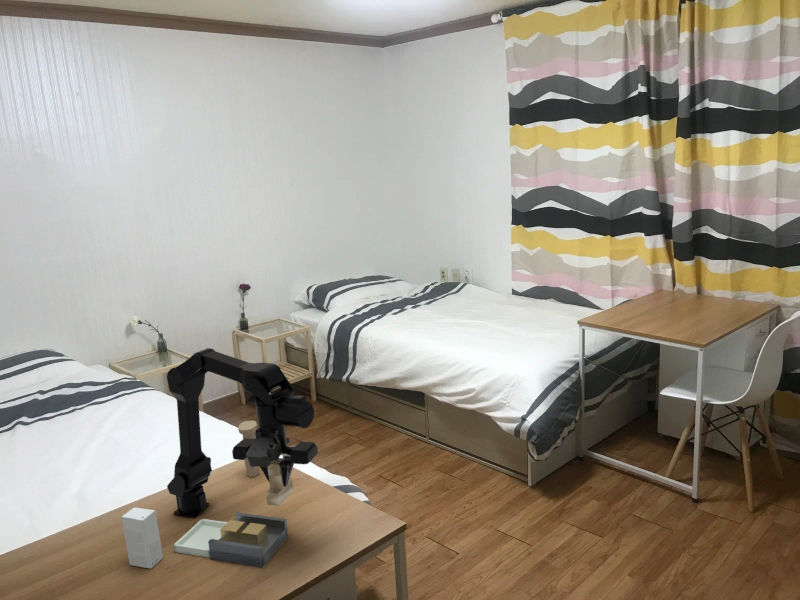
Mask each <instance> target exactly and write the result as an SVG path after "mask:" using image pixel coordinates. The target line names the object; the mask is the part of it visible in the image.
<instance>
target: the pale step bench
mask: <svg viewBox="0 0 800 600" xmlns="http://www.w3.org/2000/svg"><path fill="white" fill-rule="evenodd" d="M282 460H283V457H279V459H278V460H277V461H272V462H271V464H270V465H269V466H268V475H269V482H268V483H269V489H268V490H266V492H265V495H266V503H267V506H273V507H274V506H277V507H281V505H282V504H283V503H284V502H285V500H287V499H288V497H289V496H290V495H291V494H292V493H293V491H294V484H293V483H294V482H293V478H291V477H290V478H289V482H288V485H287V486H286V487H284V485H283V479H282V468H281V467H280V466H279V465H278V464H279V463H280V462H281V461H282Z"/></svg>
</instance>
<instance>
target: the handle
mask: <svg viewBox="0 0 800 600" xmlns="http://www.w3.org/2000/svg"><path fill="white" fill-rule="evenodd" d="M257 429H258V422H257V421H256V420H244V421H243V422H241V423H239V425H238V432H239V434H241V435H242V440H243V439H244V438H250V439H255V438H256V434H255V433H256V430H257ZM244 465H245V469H246V474H247V476H249V478H255V477H256V476H258V475H260V469H259V468H260V467H258V466H255V467H252V466H250V464H249V461H248V459H247V457H246V459H245V460H244Z"/></svg>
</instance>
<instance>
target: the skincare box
mask: <svg viewBox="0 0 800 600" xmlns="http://www.w3.org/2000/svg"><path fill="white" fill-rule="evenodd" d="M121 521H122V527H123V533H124V539H125V545H126V551H127V556H128V563H129V565H130V566H133V567H140V568H143V569H144V568H146V569H150V570H151V569H153V568H154V567H155V566H156V565H157V564H158V563H159V562H161V560H162V559H164V555H163V550H162V542H161V536H160V531H159V523H158V518H157V512H156V510H155V509H149V508H148V509H147V508H142V507H141V508H140V507H133V508H131V509H130V510H128V511H127V512H126V513H124V514H123V515H122V516H121Z"/></svg>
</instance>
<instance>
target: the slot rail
mask: <svg viewBox="0 0 800 600" xmlns="http://www.w3.org/2000/svg"><path fill="white" fill-rule="evenodd" d="M235 521H241V522H245V526H246V527H247V526H248V525H249V524H250V523H256V524H263V525H266V528H267V536H266V537H265V538H264V539H263V540H262V541H261V543H260V544H259V545H255V544H248V543H243V542H242V537H241V538H240V539H239V540H238V541H237V542H235V541H229V540H222V539H221V538H220V539H219V540H215V539H210V540H209V541H208V544H209V551H210V558H209V559H210V560H212V561H219V562H223V563H224V562H225V563H228V564H229V563H231V564H237V565H242V566H248V567H254V568H261V569H263V568H264V566H265V565H266V564H267V563H268V562H269V561H270V559H271V558H272V557H273V556H274V554H275V553H277V551H278V549H280V547H281V546H282V545H283V544H284V542H285V541H286V540H287V538H288V537H289V530H288V529H289V528H288V521H287V518H282V517H274V516H267V515H259V514H252V513H245V512H244V513H243V512H236V513H235Z"/></svg>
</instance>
